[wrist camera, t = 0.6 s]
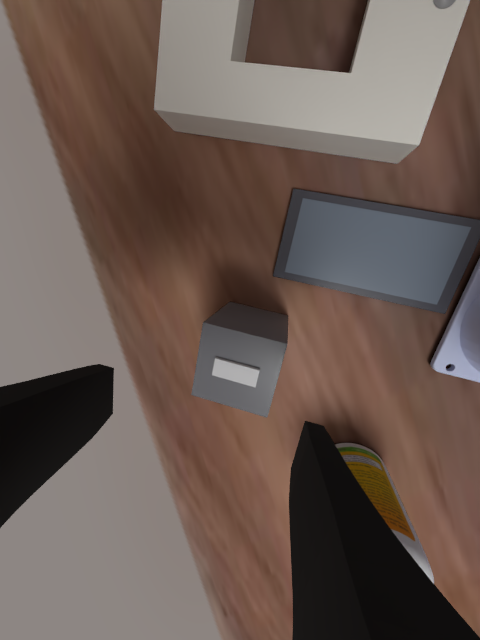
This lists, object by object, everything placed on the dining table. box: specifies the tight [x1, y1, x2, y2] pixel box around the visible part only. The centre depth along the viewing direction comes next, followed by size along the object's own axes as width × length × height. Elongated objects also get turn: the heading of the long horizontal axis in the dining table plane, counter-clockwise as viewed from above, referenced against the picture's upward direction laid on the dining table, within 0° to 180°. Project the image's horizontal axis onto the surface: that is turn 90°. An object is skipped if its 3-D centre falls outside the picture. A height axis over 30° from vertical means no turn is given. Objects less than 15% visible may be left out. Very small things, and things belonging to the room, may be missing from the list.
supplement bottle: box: [335, 443, 434, 584], centre depth 15 cm, size 5×5×10 cm
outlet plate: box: [154, 0, 470, 164], centre depth 12 cm, size 14×11×3 cm
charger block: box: [192, 302, 288, 417], centre depth 16 cm, size 4×4×6 cm
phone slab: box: [273, 189, 480, 314], centre depth 16 cm, size 6×11×1 cm, turn 79°
